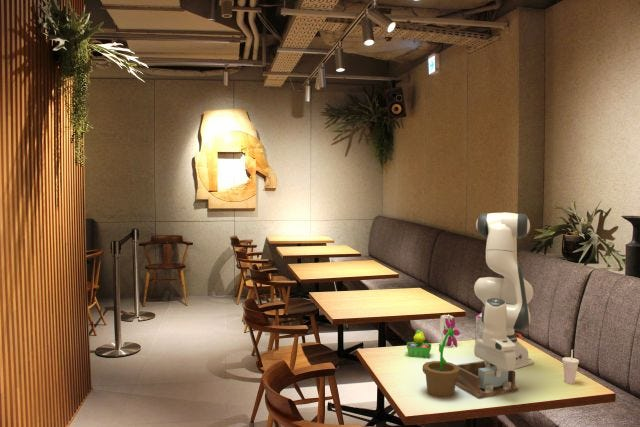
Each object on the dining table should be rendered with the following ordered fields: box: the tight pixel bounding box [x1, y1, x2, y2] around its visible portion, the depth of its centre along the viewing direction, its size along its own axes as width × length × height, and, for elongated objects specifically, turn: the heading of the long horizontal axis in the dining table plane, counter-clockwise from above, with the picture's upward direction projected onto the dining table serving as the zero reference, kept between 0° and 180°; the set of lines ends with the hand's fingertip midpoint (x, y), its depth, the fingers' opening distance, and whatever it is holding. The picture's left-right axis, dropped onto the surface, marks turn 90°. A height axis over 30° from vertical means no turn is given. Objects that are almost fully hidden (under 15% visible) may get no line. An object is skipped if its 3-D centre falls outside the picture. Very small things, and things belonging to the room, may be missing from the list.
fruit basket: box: [406, 329, 433, 359], centre depth 263 cm, size 11×9×11 cm
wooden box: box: [455, 360, 520, 400], centre depth 224 cm, size 20×17×8 cm
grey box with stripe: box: [478, 366, 508, 389], centre depth 219 cm, size 12×4×7 cm, turn 114°
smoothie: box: [561, 349, 580, 385], centre depth 230 cm, size 6×6×14 cm
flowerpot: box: [422, 317, 460, 398], centre depth 217 cm, size 14×14×30 cm
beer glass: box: [439, 314, 455, 349], centre depth 278 cm, size 7×7×15 cm
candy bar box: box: [474, 312, 484, 343], centre depth 277 cm, size 11×5×16 cm, turn 148°
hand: (493, 374), depth 219 cm, fingers closed on grey box with stripe, 4 cm apart
